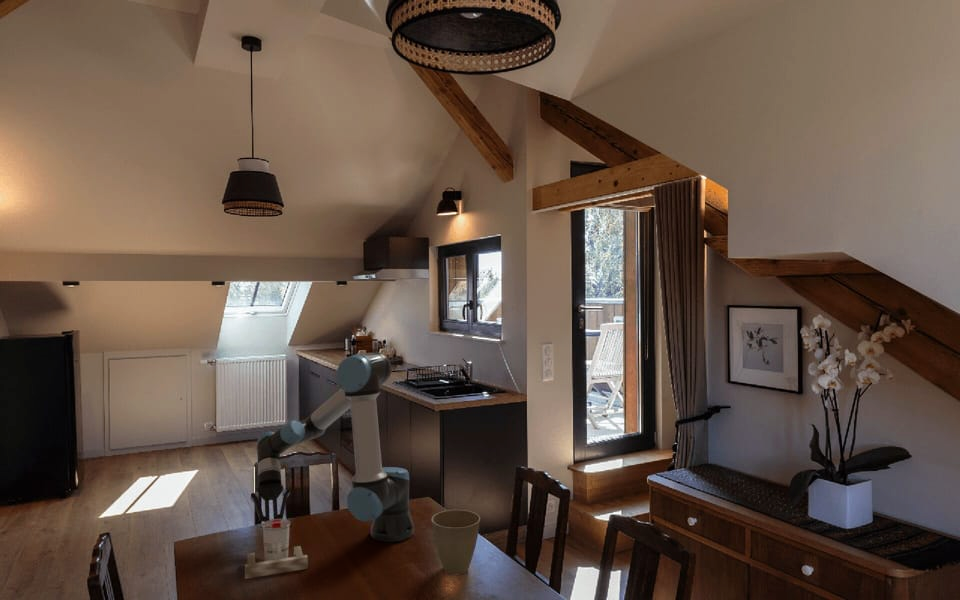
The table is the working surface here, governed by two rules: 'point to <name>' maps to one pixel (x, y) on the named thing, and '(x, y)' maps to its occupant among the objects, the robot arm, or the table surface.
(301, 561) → the cream wooden u-shaped piece
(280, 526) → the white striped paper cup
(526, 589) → the table surface
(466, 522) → the plant pot
